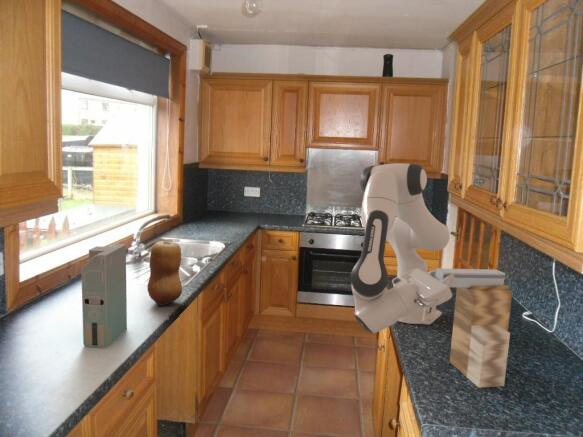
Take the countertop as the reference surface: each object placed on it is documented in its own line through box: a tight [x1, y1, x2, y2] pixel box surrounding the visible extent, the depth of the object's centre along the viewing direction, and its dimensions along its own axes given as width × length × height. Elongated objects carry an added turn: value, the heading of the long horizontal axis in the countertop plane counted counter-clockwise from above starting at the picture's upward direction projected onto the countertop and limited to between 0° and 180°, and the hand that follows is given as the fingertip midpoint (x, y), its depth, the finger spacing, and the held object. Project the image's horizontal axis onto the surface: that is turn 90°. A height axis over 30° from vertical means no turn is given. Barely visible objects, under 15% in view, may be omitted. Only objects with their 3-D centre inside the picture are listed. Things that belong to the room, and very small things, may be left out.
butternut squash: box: [147, 240, 183, 306], centre depth 202 cm, size 14×13×25 cm
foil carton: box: [434, 268, 506, 288], centre depth 151 cm, size 20×4×4 cm, turn 102°
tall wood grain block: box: [449, 285, 513, 389], centre depth 152 cm, size 12×16×27 cm
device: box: [80, 243, 128, 349], centre depth 166 cm, size 16×8×30 cm, turn 176°
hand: (448, 272), depth 149 cm, fingers closed on foil carton, 4 cm apart
